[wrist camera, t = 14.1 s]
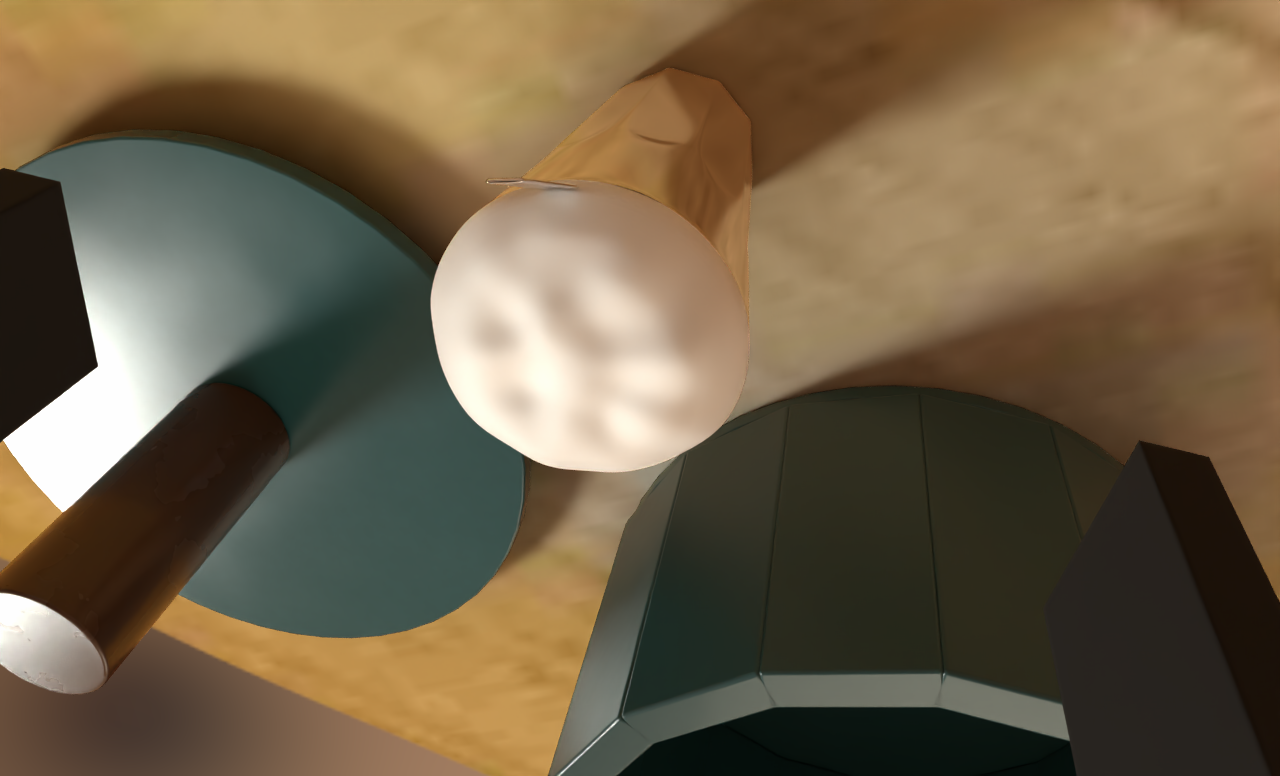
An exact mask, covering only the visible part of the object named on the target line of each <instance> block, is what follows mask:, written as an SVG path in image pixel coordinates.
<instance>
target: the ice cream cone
mask: <svg viewBox="0 0 1280 776" xmlns="http://www.w3.org/2000/svg"><path fill="white" fill-rule="evenodd" d="M752 174H753V168H752V143H751V121H750V119H749V118H748V117H747V115H746V114H745V113H744V112H743V110H742V109H741V108H740V107H739V105H738V104H737V103H736V102H735V100H734V99H733V98H732V97H731V95H730V94H729V93H728V92H727V90H726V89H725V88H724V86H723V85H722V84H721V83H720V81H718V80H714V79H710V78H707V77H703V76H699V75H696V74H692V73H689V72H685V71H682V70H678V69H675V68H671V67H670V68H667V69H664V70H662V71H660V72H657V73H655V74H652V75H650V76H647V77H645V78H642V79H640V80H637V81H634V82H632V83H629V84H627V85H624V86H623V87H622V88H620V89H619V90H618V91H617V92H616V93H615V94H614V95H613V96H612V97H610V98H609V99H608V100H607V101H606V102H605V103H604V104H603V105H602V106H601V107H599V108H598V109H597V110H596V111H595V112H594V113H593V114H592V115H591V116H590V117H588V118H587V119H586V120H585V121H584V122H583V123H582V124H581V125H580V126H579V127H578V128H576V129H575V130H574V131H573V132H572V133H571V134H570V135H569V136H568V137H567V138H566V139H564V140H563V141H562V142H561V143H560V144H559V145H558V146H557V147H556V148H555V149H554V150H553V151H552V152H551V153H549V154H548V155H547V156H546V157H545V158H544V159H543V160H542V161H540V162H539V163H538V164H537V165H536V166H534V167H533V168H532V169H531V170H529V171H528V172H527V173H526V174H524V175H523V176H522V177H521V178H493V179H487V180H486V183H489V184H497V185H505V186H509V187H508V188H507V189H506V190H504V191H503V192H502V193H501V194H499V195H498V196H497V197H496V198H494V199H493V200H492V201H491V202H489V203H488V204H487V205H485V206H484V207H483V208H481V209H480V210H479V211H477V212H476V213H475V214H474V215H473V216H471V217H470V218H469V219H468V220H467V221H466V222H465V223H464V225H463V226H462V227H461V228H460V229H459V231H458V232H457V233H456V235H455V236H454V237H453V239H452V240H451V242H450V243H449V245H448V247H447V249H446V250H445V252H444V254H443V256H442V259H441V261H440V263H439V266H438V268H437V271H436V274H435V277H434V281H433V286H432V291H431V316H432V324H433V331H434V337H435V342H436V347H437V352H438V356H439V360H440V363H441V366H442V369H443V372H444V374H445V377H446V379H447V381H448V383H449V386H450V387H451V389H452V391H453V393H454V395H455V396H456V398H457V400H458V401H459V403H460V404H461V406H462V407H463V409H464V410H465V411H466V412H467V414H468V415H469V416H470V417H471V418H472V419H473V420H474V421H475V422H476V423H477V424H478V425H479V426H480V427H482V428H483V429H484V430H485V431H487V432H488V433H490V434H491V435H493V436H494V437H496V438H498V439H499V440H501V441H502V442H504V443H506V444H507V445H509V446H511V447H512V448H514V449H515V450H517V451H519V452H520V453H522V454H524V455H525V456H527V457H529V458H531V459H532V460H534V461H537V462H539V463H541V464H544V465H547V466H551V467H555V468H561V469H570V470H584V471H598V472H627V471H634V470H639V469H643V468H647V467H650V466H653V465H656V464H659V463H662V462H664V461H667V460H669V459H671V458H674V457H676V456H678V455H680V454H682V453H684V452H685V451H687V450H689V449H691V448H693V447H694V446H696V445H698V444H699V443H701V442H703V441H704V440H706V439H707V438H708V437H710V436H711V435H712V434H713V433H714V432H716V431H717V430H718V429H719V428H720V427H721V426H722V425H723V423H724V422H725V421H726V420H727V418H728V417H729V415H730V414H731V412H732V411H733V409H734V407H735V405H736V403H737V401H738V399H739V397H740V395H741V392H742V389H743V386H744V382H745V379H746V374H747V369H748V362H749V262H748V235H749V220H750V205H751V190H752Z"/></svg>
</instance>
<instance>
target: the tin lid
mask: <svg viewBox="0 0 1280 776" xmlns="http://www.w3.org/2000/svg"><path fill="white" fill-rule="evenodd" d="M15 171H18V172H22V173H26V174H30V175H34V176H39V177H43V178H47V179H51V180H55V181H59V182H61V187H62V192H63V197H64V202H65V207H66V211H67V216H68V221H69V226H70V231H71V236H72V241H73V245H74V250H75V255H76V260H77V265H78V270H79V275H80V279H81V284H82V289H83V294H84V299H85V304H86V309H87V314H88V318H89V323H90V328H91V333H92V338H93V343H94V348H95V352H96V357H97V362H98V367H97V368H96V369H94V370H93V371H92V372H91V373H89V374H88V375H87V376H85V377H84V378H83V379H82V380H80V381H79V382H78V383H76V384H75V385H74V386H72V387H71V388H70V389H69V390H67V391H66V392H65V393H63V394H62V395H61V396H60V397H58V398H57V399H56V400H54V401H53V402H52V403H51V404H49V405H48V406H47V407H45V408H44V409H43V410H42V411H40V412H39V413H38V414H36V415H35V416H34V417H33V418H31V419H30V420H29V421H27V422H26V423H25V424H23V425H22V426H21V427H20V428H18V429H17V430H16V431H14V432H13V433H12V434H11V435H9V436H8V437H7V438H5V439H4V440H3V441H4V442H5V444H6V445H7V447H8V448H9V450H10V452H11V453H12V454H13V455H14V457H15V458H16V459H17V461H18V462H19V463H20V465H21V466H22V467H23V468H24V470H25V471H26V472H27V474H28V475H29V476H30V478H31V479H32V480H33V481H34V482H35V483H36V484H37V485H38V487H39V488H40V489H41V490H42V491H43V492H44V493H45V494H46V495H47V496H48V498H49V499H50V500H51V501H52V502H53V503H54V504H55V505H56V506H57V507H58V508H59V509H60V510H61V511H62V512H63V513H62V514H61V515H60V516H59V517H58V518H57V519H56V520H55V521H54V522H53V523H52V524H51V525H49V526H48V527H47V528H46V529H45V530H44V531H43V532H42V533H41V534H40V535H39V536H38V537H37V538H36V539H35V540H34V541H33V542H32V543H30V544H29V545H28V546H27V547H26V548H25V549H24V550H23V551H22V552H21V553H20V554H19V555H18V556H17V557H16V558H15V559H14V560H13V561H11V562H10V563H9V564H8V566H6V567H5V568H4V569H3V570H2V571H1V572H0V664H1V665H2V666H4V667H5V668H6V669H8V670H9V671H11V672H12V673H14V674H16V675H17V676H19V677H20V678H22V679H24V680H26V681H28V682H30V683H32V684H35V685H37V686H39V687H42V688H45V689H48V690H51V691H55V692H59V693H64V694H75V695H77V694H86V693H91V692H93V691H96V690H97V689H99V688H101V687H102V686H103V685H104V684H105V683H106V682H107V681H108V679H109V678H110V677H111V676H112V675H113V673H114V672H115V671H116V670H117V668H118V667H119V666H120V665H121V664H122V662H123V661H124V660H125V659H126V657H127V656H128V655H129V654H130V652H131V651H132V650H133V649H134V648H135V646H136V645H137V644H138V643H139V641H140V640H141V639H142V638H143V637H144V635H145V634H146V633H147V632H148V630H149V629H150V628H151V627H152V626H153V624H154V623H155V622H156V621H157V619H158V618H159V617H160V616H161V615H162V613H163V612H164V611H165V610H166V608H167V607H168V606H169V605H170V604H171V602H172V601H173V600H174V599H175V597H176V596H177V595H180V596H182V597H184V598H186V599H189V600H191V601H193V602H195V603H197V604H199V605H201V606H204V607H206V608H209V609H211V610H214V611H216V612H219V613H221V614H224V615H226V616H229V617H232V618H235V619H238V620H241V621H245V622H248V623H251V624H254V625H258V626H261V627H265V628H270V629H274V630H279V631H283V632H288V633H293V634H301V635H309V636H316V637H331V638H360V637H373V636H382V635H387V634H392V633H397V632H402V631H407V630H410V629H413V628H416V627H419V626H422V625H425V624H428V623H431V622H434V621H435V620H437V619H439V618H441V617H443V616H445V615H447V614H449V613H451V612H453V611H455V610H456V609H458V608H459V607H460V606H462V605H463V604H465V603H466V602H467V601H469V600H470V599H471V598H473V597H474V596H475V595H477V594H478V593H479V592H480V591H481V590H482V589H483V587H484V586H485V585H486V584H487V583H488V582H489V581H490V580H491V579H492V578H493V577H494V576H495V575H496V573H497V571H498V570H499V568H500V567H501V565H502V564H503V562H504V560H505V559H506V557H507V556H508V554H509V553H510V550H511V548H512V546H513V544H514V541H515V539H516V536H517V534H518V531H519V529H520V526H521V524H522V521H523V519H524V516H525V511H526V506H527V501H528V496H529V491H530V471H531V458H529V457H527V456H525V455H524V454H522V453H520V452H519V451H517V450H515V449H514V448H512V447H511V446H509V445H507V444H506V443H504V442H502V441H501V440H499V439H498V438H496V437H494V436H493V435H491V434H490V433H488V432H487V431H485V430H484V429H483V428H482V427H480V426H479V425H478V424H477V423H476V422H475V421H474V420H473V419H472V418H471V417H470V416H469V415H468V414H467V412H466V411H465V410H464V409H463V407H462V406H461V404H460V403H459V401H458V400H457V398H456V396H455V395H454V393H453V391H452V389H451V387H450V386H449V383H448V381H447V379H446V377H445V374H444V372H443V369H442V366H441V363H440V360H439V356H438V352H437V347H436V342H435V337H434V331H433V324H432V316H431V291H432V286H433V281H434V277H435V274H436V271H437V268H438V266H437V265H436V263H435V262H434V261H433V260H432V259H431V258H430V257H429V256H428V255H427V254H426V253H425V252H424V251H423V250H422V249H421V248H420V247H419V246H418V245H417V244H415V243H414V242H413V241H412V240H411V239H410V238H409V237H407V236H406V235H405V234H404V233H403V232H402V231H400V230H399V229H398V228H397V227H396V226H395V225H394V224H392V223H391V222H390V221H389V220H388V219H386V218H385V217H384V216H382V215H381V214H379V213H378V212H376V211H375V210H374V209H372V208H371V207H369V206H368V205H366V204H365V203H364V202H362V201H361V200H359V199H358V198H356V197H355V196H354V195H352V194H351V193H349V192H348V191H346V190H344V189H342V188H341V187H339V186H337V185H335V184H333V183H332V182H330V181H328V180H326V179H324V178H323V177H321V176H319V175H317V174H315V173H314V172H312V171H310V170H308V169H306V168H304V167H302V166H299V165H297V164H295V163H292V162H290V161H287V160H285V159H283V158H280V157H278V156H276V155H273V154H271V153H268V152H266V151H264V150H261V149H257V148H254V147H250V146H247V145H243V144H240V143H237V142H233V141H230V140H226V139H223V138H219V137H213V136H207V135H201V134H195V133H189V132H182V131H176V130H139V129H133V130H125V131H117V132H110V133H102V134H95V135H92V136H89V137H86V138H82V139H79V140H76V141H73V142H70V143H66V144H63V145H61V146H59V147H57V148H55V149H53V150H50V151H48V152H47V153H45V154H43V155H41V156H39V157H37V158H35V159H33V160H32V161H30V162H28V163H26V164H24V165H22V166H20V167H19V168H18V169H16V170H15Z"/></svg>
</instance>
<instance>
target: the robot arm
mask: <svg viewBox="0 0 1280 776" xmlns="http://www.w3.org/2000/svg"><path fill="white" fill-rule="evenodd" d="M97 367H98V362H97V357H96V352H95V348H94V343H93V338H92V333H91V328H90V323H89V318H88V314H87V309H86V304H85V299H84V294H83V289H82V284H81V279H80V275H79V270H78V265H77V260H76V255H75V250H74V245H73V241H72V236H71V231H70V226H69V221H68V216H67V211H66V207H65V202H64V197H63V192H62V187H61V182H59V181H55V180H51V179H47V178H43V177H39V176H34V175H30V174H26V173H22V172H18V171H14V170H9V169H5V168H3V169H0V442H2V441H3V440H4V439H5V438H7V437H8V436H9V435H11V434H12V433H13V432H14V431H16V430H17V429H18V428H20V427H21V426H22V425H23V424H25V423H26V422H27V421H29V420H30V419H31V418H33V417H34V416H35V415H36V414H38V413H39V412H40V411H42V410H43V409H44V408H45V407H47V406H48V405H49V404H51V403H52V402H53V401H54V400H56V399H57V398H58V397H60V396H61V395H62V394H63V393H65V392H66V391H67V390H69V389H70V388H71V387H72V386H74V385H75V384H76V383H78V382H79V381H80V380H82V379H83V378H84V377H85V376H87V375H88V374H89V373H91V372H92V371H93V370H94V369H96V368H97ZM1043 611H1044V616H1045V621H1046V626H1047V631H1048V636H1049V641H1050V646H1051V651H1052V656H1053V661H1054V665H1055V670H1056V675H1057V680H1058V685H1059V690H1060V695H1061V700H1062V705H1063V710H1064V715H1065V720H1066V725H1067V730H1068V735H1069V740H1070V745H1071V750H1072V755H1073V760H1074V765H1075V769H1076V774H1077V776H1280V602H1279V600H1278V598H1277V596H1276V594H1275V592H1274V590H1273V588H1272V586H1271V584H1270V582H1269V580H1268V578H1267V575H1266V573H1265V571H1264V569H1263V567H1262V565H1261V563H1260V561H1259V559H1258V557H1257V555H1256V553H1255V551H1254V549H1253V547H1252V545H1251V543H1250V540H1249V538H1248V536H1247V534H1246V532H1245V530H1244V528H1243V526H1242V524H1241V522H1240V520H1239V518H1238V516H1237V514H1236V512H1235V510H1234V508H1233V506H1232V503H1231V501H1230V499H1229V497H1228V495H1227V493H1226V491H1225V489H1224V487H1223V485H1222V483H1221V481H1220V479H1219V477H1218V475H1217V473H1216V471H1215V469H1214V466H1213V464H1212V462H1211V460H1210V458H1209V457H1206V456H1202V455H1198V454H1194V453H1190V452H1185V451H1181V450H1177V449H1173V448H1169V447H1165V446H1160V445H1156V444H1152V443H1148V442H1144V441H1140V440H1139V442H1138V444H1137V445H1136V447H1135V449H1134V451H1133V452H1132V454H1131V456H1130V458H1129V459H1128V461H1127V463H1126V464H1125V466H1124V468H1123V470H1122V471H1121V473H1120V475H1119V477H1118V478H1117V480H1116V482H1115V484H1114V485H1113V487H1112V489H1111V491H1110V492H1109V494H1108V496H1107V498H1106V499H1105V501H1104V503H1103V505H1102V506H1101V508H1100V510H1099V511H1098V513H1097V515H1096V517H1095V518H1094V520H1093V522H1092V524H1091V525H1090V527H1089V529H1088V531H1087V532H1086V534H1085V536H1084V538H1083V539H1082V541H1081V543H1080V545H1079V546H1078V548H1077V550H1076V552H1075V553H1074V555H1073V557H1072V559H1071V560H1070V562H1069V564H1068V565H1067V567H1066V569H1065V571H1064V572H1063V574H1062V576H1061V578H1060V579H1059V581H1058V583H1057V585H1056V586H1055V588H1054V590H1053V592H1052V593H1051V595H1050V597H1049V599H1048V600H1047V602H1046V604H1045V606H1044V607H1043Z"/></svg>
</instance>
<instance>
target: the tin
mask: <svg viewBox="0 0 1280 776" xmlns="http://www.w3.org/2000/svg"><path fill="white" fill-rule="evenodd" d="M1123 468H1124V466H1123V465H1122V464H1121V463H1119V462H1118V461H1117V460H1116V459H1114V458H1113V457H1112V456H1110V455H1109V454H1108V453H1107V452H1105V451H1104V450H1103V449H1101V448H1100V447H1099V446H1097V445H1096V444H1094V443H1093V442H1091V441H1089V440H1087V439H1086V438H1084V437H1082V436H1081V435H1079V434H1077V433H1075V432H1074V431H1072V430H1070V429H1068V428H1067V427H1065V426H1063V425H1062V424H1059V423H1057V422H1054V421H1052V420H1050V419H1047V418H1045V417H1043V416H1040V415H1038V414H1036V413H1033V412H1031V411H1029V410H1026V409H1024V408H1021V407H1017V406H1014V405H1010V404H1007V403H1004V402H1000V401H997V400H993V399H990V398H987V397H983V396H978V395H973V394H967V393H961V392H956V391H950V390H944V389H938V388H923V387H908V386H874V387H852V388H845V389H838V390H831V391H825V392H818V393H812V394H808V395H804V396H800V397H796V398H793V399H789V400H785V401H781V402H778V403H774V404H771V405H769V406H766V407H764V408H761V409H759V410H756V411H753V412H751V413H748V414H746V415H743V416H741V417H738V418H737V419H735V420H733V421H731V422H729V423H727V424H726V425H724V426H722V427H720V428H719V429H718V430H717V431H716V432H714V433H713V434H712V435H711V436H710V437H708V438H707V439H706V440H704V441H703V442H701V443H699V444H698V445H696V446H694V447H693V448H691V449H689V450H687V451H685V452H684V453H682V454H680V455H679V456H678V457H677V458H676V459H675V460H674V461H673V462H672V463H671V464H670V465H669V466H668V467H667V468H666V469H665V470H664V471H663V472H662V473H661V474H660V475H659V476H658V478H657V479H656V480H655V482H654V483H653V484H652V486H651V487H650V489H649V490H648V491H647V493H646V494H645V495H644V497H643V498H642V500H641V502H640V504H639V506H638V508H637V510H636V511H635V512H634V514H633V515H632V516H631V517H630V518H629V519H628V521H627V523H626V525H625V528H624V531H623V534H622V538H621V541H620V544H619V547H618V551H617V554H616V557H615V560H614V564H613V567H612V570H611V573H610V577H609V580H608V583H607V586H606V589H605V593H604V596H603V599H602V602H601V606H600V609H599V612H598V615H597V619H596V622H595V625H594V628H593V632H592V635H591V638H590V641H589V645H588V648H587V651H586V654H585V657H584V661H583V664H582V667H581V670H580V674H579V677H578V680H577V683H576V687H575V690H574V693H573V696H572V700H571V703H570V706H569V709H568V713H567V716H566V719H565V722H564V726H563V729H562V732H561V735H560V738H559V742H558V745H557V748H556V751H555V755H554V758H553V761H552V764H551V768H550V771H549V774H548V776H1077V774H1076V769H1075V765H1074V760H1073V755H1072V750H1071V745H1070V740H1069V735H1068V730H1067V725H1066V720H1065V715H1064V710H1063V705H1062V700H1061V695H1060V690H1059V685H1058V680H1057V675H1056V670H1055V665H1054V661H1053V656H1052V651H1051V646H1050V641H1049V636H1048V631H1047V626H1046V621H1045V616H1044V611H1043V607H1044V606H1045V604H1046V602H1047V600H1048V599H1049V597H1050V595H1051V593H1052V592H1053V590H1054V588H1055V586H1056V585H1057V583H1058V581H1059V579H1060V578H1061V576H1062V574H1063V572H1064V571H1065V569H1066V567H1067V565H1068V564H1069V562H1070V560H1071V559H1072V557H1073V555H1074V553H1075V552H1076V550H1077V548H1078V546H1079V545H1080V543H1081V541H1082V539H1083V538H1084V536H1085V534H1086V532H1087V531H1088V529H1089V527H1090V525H1091V524H1092V522H1093V520H1094V518H1095V517H1096V515H1097V513H1098V511H1099V510H1100V508H1101V506H1102V505H1103V503H1104V501H1105V499H1106V498H1107V496H1108V494H1109V492H1110V491H1111V489H1112V487H1113V485H1114V484H1115V482H1116V480H1117V478H1118V477H1119V475H1120V473H1121V471H1122V470H1123Z"/></svg>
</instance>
